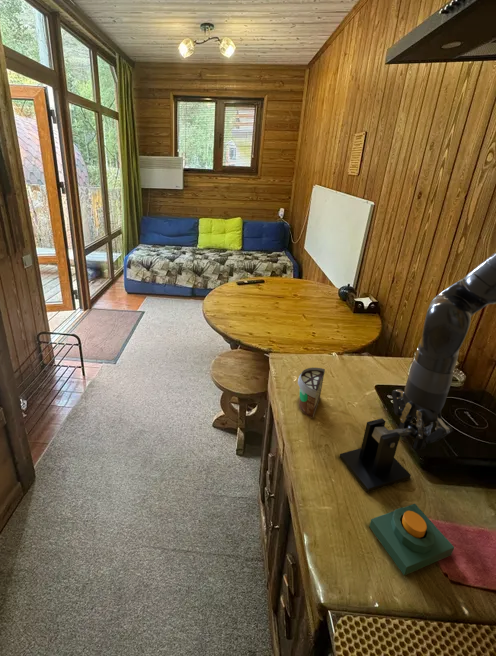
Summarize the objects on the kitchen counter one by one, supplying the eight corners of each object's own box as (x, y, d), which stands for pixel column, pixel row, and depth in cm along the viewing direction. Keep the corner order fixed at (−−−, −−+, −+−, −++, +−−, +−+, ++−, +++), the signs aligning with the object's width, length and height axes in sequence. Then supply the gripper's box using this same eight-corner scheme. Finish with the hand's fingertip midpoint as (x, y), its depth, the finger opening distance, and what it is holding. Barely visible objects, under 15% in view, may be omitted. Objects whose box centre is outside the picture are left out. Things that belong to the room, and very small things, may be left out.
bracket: (378, 446, 78) (388, 408, 74) (410, 478, 70) (422, 438, 66) (339, 457, 75) (346, 418, 71) (366, 493, 67) (377, 451, 63)
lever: (410, 430, 75) (415, 419, 74) (422, 441, 72) (427, 430, 71) (369, 435, 71) (373, 424, 70) (380, 446, 68) (384, 435, 67)
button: (411, 514, 59) (414, 508, 59) (429, 535, 56) (431, 528, 55) (397, 520, 58) (399, 513, 58) (414, 541, 55) (416, 534, 54)
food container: (301, 388, 98) (304, 361, 95) (320, 395, 95) (325, 368, 92) (289, 412, 88) (293, 383, 85) (311, 421, 85) (316, 392, 82)
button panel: (412, 510, 63) (417, 496, 62) (451, 555, 56) (457, 540, 55) (368, 526, 60) (372, 512, 59) (404, 575, 53) (409, 560, 52)
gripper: (474, 400, 63) (451, 463, 68) (413, 360, 75) (397, 416, 81) (447, 407, 60) (425, 472, 66) (388, 365, 73) (374, 422, 79)
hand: (410, 441), depth 73 cm, fingers closed on lever, 3 cm apart
